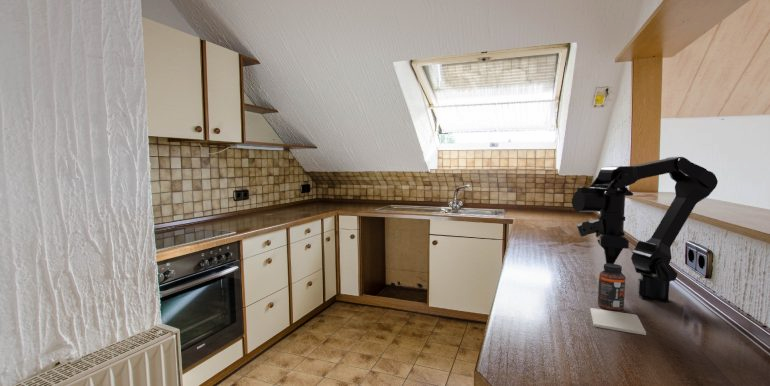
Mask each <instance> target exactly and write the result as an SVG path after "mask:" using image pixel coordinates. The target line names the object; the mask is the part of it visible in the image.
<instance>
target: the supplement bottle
mask: <svg viewBox="0 0 770 386" xmlns="http://www.w3.org/2000/svg"><path fill="white" fill-rule="evenodd" d="M622 268H623V267H622V265H620V264H617V263H616V264H615V263H614V264H610V263H606V262H605V263H604V264H603V270H602V271H600V273H599V274H598V288H597V289H598V290H597V291H598V292H597V305H598V306H600V307H601V308H602V309H604V310H608V311H614V312H619V311H621V310H623V309H624V308H625V291H626V276H625V274H624V273H622V271H623V269H622Z"/></svg>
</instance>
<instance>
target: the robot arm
mask: <svg viewBox="0 0 770 386" xmlns="http://www.w3.org/2000/svg"><path fill="white" fill-rule="evenodd" d="M667 174H669V177H670V179H672V181H674V182H675V185H674V191H675V197H674V199H673V200H672V201H671V202H670V203H671V204H670V205H669V207H668V209H667V210H666V213H665V214H664V215H663V217H662V219H660V220H661V221H660V222H659V224H658V225H657V227H656V229H655V231H654V232H653V234H652V235H651V236H650V238H649V239H648V240H646V241H643V240H638V241H637V243H636V245H635V247H634V249H633V250H632V251H631V253H632V254H631V262H632V264H633V267H634V269H635V270H634V271H635V272H636V273H637V274H640V276H639V277H640V278H638V279H637V294H638V295H639V296H640V298H641V299H642V300H646V301H652V302H653V301H655V302H662V303H671V300H670V298H669V297H670V284H671V283H670V282H674V281H675V282H676V280H677V277H678V272H677V271H676V270H675V269H674V268H673V267H672V265H671V264H670V263H671V261H672V249H671V247H672V245H673V244H674V242H675V240H676V238H677V237H678V235H679V233H680V232H681V230H682V229H683V226H685V223H686V222H687V220H688V218H689V217H690V215H691V213H692V212H693V210H694V208H695V207H696V205H697V204H698V203H700V202H701V201H703V200H705V199H706V198H708V197H709V196H710V195H711V193H713V191H714V190H715V189H716V188H717V185H718V182H719V180H718V178H717V177H716V174H715V173H714V172H712V171H710V170H708V169H707V168H705V167H703V166H701V165H698V164H697V163H694V162H692V161H690V160H689V159H688V158H686V157H684V156H670V157H665V158H662V159H659V160H654V161H648V162H645V163H637V164H634V165H627V166H626V165H624V166H622V165H620V166H617V165H615V166H604V167H602V168H600V170H599V172H598V175H597V176H596V177H595V179H594V180H593V181H592V183H591V184H590V186H589V187H587V186H586V187H585V186H577V190H576V192H574V194H573V196H572V198H571V206H572V208H573V210H574V211H576V212H579V213H581V212H582V213H585V212H586V213H589V212H590V213H591V212H592V213H596V212H597V213H599V214H598V215H597V219H593V220H586V221H581V223H576V229H577V230H578V234H579V236H580V238H581V237H586V236H588V235H591V234H594V235H595V237H596V238H599V239H597V240H596V241H597V242H598V245H599V246H600V247H601V248H603V253H604V259H605V264H606V263H610V264H615V262H616V260H618V257H619V256H620V254H621V253H622V251H623V250H624V249H626V250H627V249H629V246H630V241H629V240H628V239H627V238H626V237H625V231H624V227H625V226H624V224H625V222H626V216H625V209H626V208H625V207H626V196H627V197H633V196H634V193H633V192H632V191H631V190H630V189H629V188H628V186H631V185H633V184H635V183H636V182H637V181H640V180H642V179H647V178H652V177H656V176H661V175H667Z"/></svg>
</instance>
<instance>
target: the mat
mask: <svg viewBox="0 0 770 386" xmlns="http://www.w3.org/2000/svg"><path fill="white" fill-rule="evenodd" d="M589 309H590V310H589V311H590V314H591V320H592V325H593V327H596V328H601V329H607V330H613V331H619V332H620V331H621V332H627V333H630V334H637V335H644V336H647V331H646V329H645V328H644V326H643V324H642V322H641V320H640V318H639V317H638V315H637V314H633V313H626V312H620V311H615V310H609V309H600V308H594V307H590V308H589Z"/></svg>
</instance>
